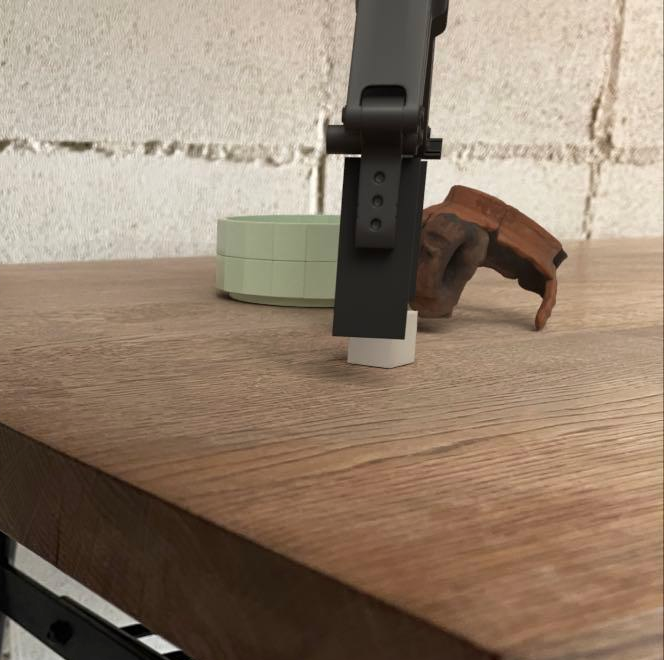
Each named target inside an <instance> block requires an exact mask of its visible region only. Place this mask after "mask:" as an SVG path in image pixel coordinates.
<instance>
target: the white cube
mask: <svg viewBox="0 0 664 660" xmlns="http://www.w3.org/2000/svg"><path fill="white" fill-rule="evenodd" d="M417 315H418V311H413V310H408V311H407V322H406V333H405V339H404V340H398V339H378V338H358V337H348V344H347V345H348V346H347V347H348V348H347V361H346V362H347V364H354V365H361V366H369V367H377V368H385V369H392V368H396V367H397V368H398V367H400V366H404V365H408V364H412V363H415V355H416V344H417V343H416V342H417V333H418V332H417V329H418V316H417Z"/></svg>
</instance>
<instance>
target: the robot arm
mask: <svg viewBox="0 0 664 660" xmlns="http://www.w3.org/2000/svg"><path fill="white" fill-rule="evenodd" d="M354 8H355V10H354V11H355V22H354V30H353V31H354V32H353V39H352V48H351V57H350V66H349V74H348V85H347V95H346V103H345V105H344V107H342V109H341V121H340V122H341V124H326V134H325V154H326V155H350V156H344V160H343V161H344V162H343V176H342V187H341V189H342V190H341V202H340V205H341V206H340V215H341V216H340V230H339V244H338V258H337V273H336V287H335V301H334V307H333V315H332V316H333V318H332V331H331V332H332V333H331V337H338V338H340V337H341V338H349V337H358V338H378V339H398V340H404V339H405V333H406V322H407V311H408V309H409V304H408V301H412V302H414V301H415V292H416V281H417V270H418V259H419V249H420V238H421V227H422V216H423V209H424V206H425V205H424V204H425V195H426V194H425V193H426V184H427V183H426V181H427V171H428V160H433V161H434V160H442V151H443V140H444V138H443V137H431V133H432V127H430V125H429V122H430V110H431V99H432V98H431V96H432V85H433V74H434V61H435V49H436V38H437V37H439V36H440V35H443V33H444V32H445V31H446V29H447V25H448V19H449V18H448V17H449V8H450V0H354ZM351 155H353V156H351ZM354 155H360V156H354Z"/></svg>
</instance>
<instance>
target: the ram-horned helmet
mask: <svg viewBox="0 0 664 660" xmlns="http://www.w3.org/2000/svg"><path fill="white" fill-rule="evenodd" d="M567 258H568V253H567V252H566V251H565V250H564V248H563V244H562V242H561V241H560V240H559V239H557V238H556V236H554V235H552V234H551V233H550V232H548V230H546V228H545V227H544V226H541V225H540V224H539V223H538V222H537V221H536V220H534V219H533V218H531V217H529V216H528V215H527V214H525V213H524V212H522V211H520V210H519V209H518V208H516V207H514V206H513V205H510V204H508V203H506V202H505V201H504V200H502V199H500V198H498V197H496V196H494V195H491V194H489V193H487V192H484V191H482V190H479V189H476V188H473V187H469V186H465V185H463V184H454V185H452V186H451V187H450V189H449V191H448V193H447V195H446V196H445V198H444V199H443V201H442V202H440V203H436V204H431V205H429V206H428V207H425V208H423V216H422V227H421V238H420V249H419V259H418V270H417V281H416V292H415V301H414V302H412V301H408V307H409V308H410V309H411V311H418V315H417V318H420V319H449V318H451V317H452V315H453V311H454V308H455V307H456V306H457V305H458V303H459V300H460V298H461V296H462V293H463V291H464V290H465V287H466V285H467V283H468V282H469V281H470V280H471V279H472V278H473V276H474V275H475V274H476V272H477V269H478V268H486V269H491V270H494V272H496V273H498V274H499V275H501V276H502V277H503V278H504V279H508V280H515V281H516V280H517V285H518V286H519V287H520V288H522V289H523V290H524V291H527V292H531V293H534V294H536V295H539V297H541V298H542V301H541V302H540V306H539V308H538V309H537V312H536V314H535V319H534V326H535V328H536V330H537V331H540V330H542V329H543V328H544V327H546V324H547V322H548V320H549V318H551V316H552V310H553V309H554V307H555V306H556V304H557V293H558V279H557V270H558V269H559V268H560V266H561V265H562V263H563V262H564V261H565V260H566V259H567Z"/></svg>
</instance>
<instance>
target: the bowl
mask: <svg viewBox="0 0 664 660" xmlns="http://www.w3.org/2000/svg"><path fill="white" fill-rule="evenodd" d="M340 216H341V214H250V215H249V214H245V215H230V216H221V217H217V220H216V246H215V247H216V250H215V251H216V255H215V284H214V285H215V288H216V289H217V290H220V291H223V292H227V293H228V295H229V297H230V299H233V300H236V301H239V302H244V303H252V304H258V305H268V306H278V307H279V306H281V307H299V308H301V307H302V308H334V301H335V287H336V273H337V258H338V244H339V230H340Z"/></svg>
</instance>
